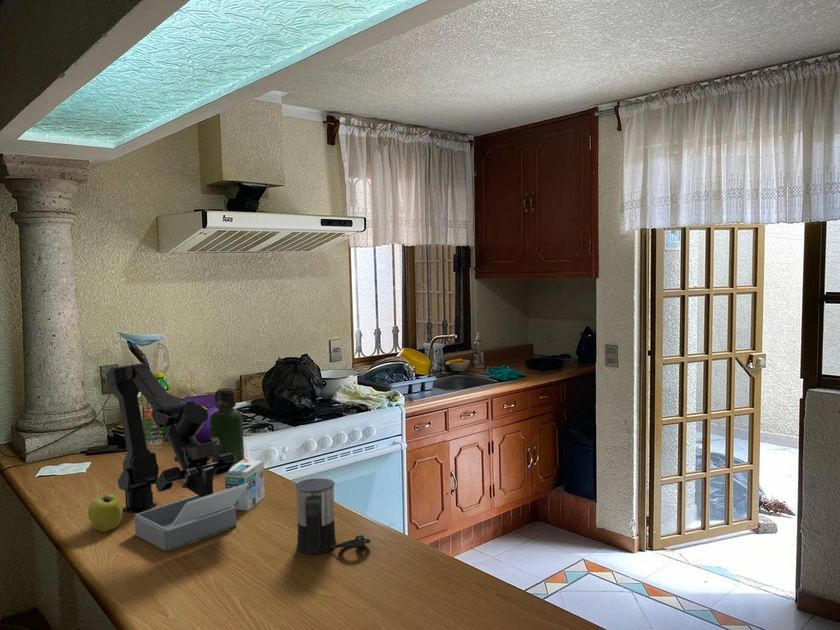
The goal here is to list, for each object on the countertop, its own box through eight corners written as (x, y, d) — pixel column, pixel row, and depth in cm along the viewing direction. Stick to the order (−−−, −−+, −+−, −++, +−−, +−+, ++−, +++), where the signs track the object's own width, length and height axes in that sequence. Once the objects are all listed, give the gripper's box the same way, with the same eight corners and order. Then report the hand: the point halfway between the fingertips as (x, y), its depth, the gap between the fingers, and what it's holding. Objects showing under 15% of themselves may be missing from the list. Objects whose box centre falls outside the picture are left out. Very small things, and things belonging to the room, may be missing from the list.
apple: (81, 534, 156) (79, 494, 155) (107, 521, 163) (105, 484, 163) (105, 538, 153) (103, 498, 153) (131, 525, 161) (129, 487, 160)
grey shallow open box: (133, 534, 155) (132, 514, 155) (202, 511, 170) (201, 493, 169) (167, 552, 145) (166, 531, 144) (237, 526, 159) (236, 507, 159)
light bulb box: (248, 511, 169) (246, 472, 168) (225, 509, 170) (223, 470, 170) (265, 497, 179) (264, 460, 179) (243, 495, 181) (242, 459, 180)
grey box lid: (171, 524, 145) (186, 502, 140) (231, 504, 158) (247, 482, 153) (172, 526, 145) (187, 504, 140) (232, 506, 157) (248, 484, 152)
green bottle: (215, 459, 217) (212, 387, 215) (246, 457, 218) (243, 386, 216) (208, 468, 206) (205, 393, 204) (241, 467, 207) (238, 392, 206)
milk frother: (293, 541, 150) (291, 480, 148) (356, 530, 156) (355, 471, 155) (306, 567, 136) (304, 500, 135) (375, 553, 143) (373, 489, 141)
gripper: (160, 436, 143) (187, 496, 137) (231, 420, 157) (259, 474, 152) (144, 462, 149) (169, 520, 143) (214, 444, 163) (240, 497, 157)
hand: (211, 502), depth 149 cm, fingers closed, pressing on grey box lid
